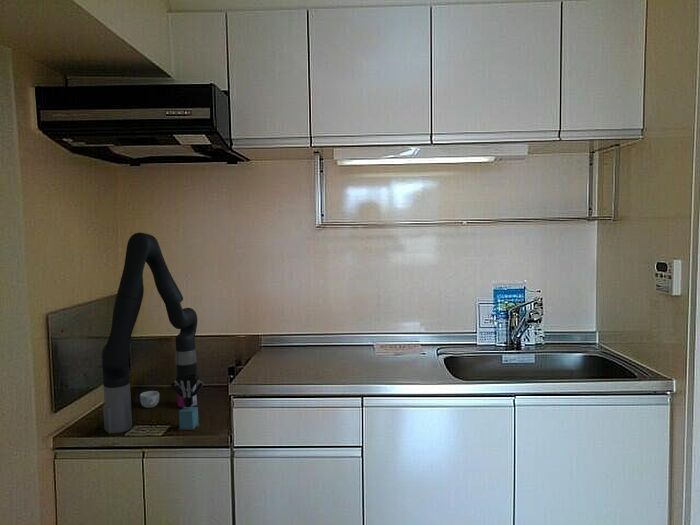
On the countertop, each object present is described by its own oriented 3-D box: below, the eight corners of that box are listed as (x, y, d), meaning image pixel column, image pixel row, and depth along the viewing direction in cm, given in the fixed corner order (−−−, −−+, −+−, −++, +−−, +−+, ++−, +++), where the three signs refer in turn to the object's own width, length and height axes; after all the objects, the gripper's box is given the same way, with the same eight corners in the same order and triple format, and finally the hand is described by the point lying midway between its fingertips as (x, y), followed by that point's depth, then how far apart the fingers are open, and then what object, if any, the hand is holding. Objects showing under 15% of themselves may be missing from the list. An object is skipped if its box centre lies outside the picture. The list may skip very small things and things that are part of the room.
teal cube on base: (192, 428, 216) (192, 411, 215) (179, 428, 217) (178, 411, 216) (198, 423, 221) (197, 407, 221) (185, 423, 222) (184, 406, 221)
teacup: (138, 405, 246) (137, 393, 246) (156, 402, 250) (156, 389, 250) (144, 411, 238) (143, 399, 237) (163, 408, 242) (162, 395, 241)
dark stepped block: (193, 430, 216) (192, 413, 215) (178, 430, 216) (177, 413, 216) (199, 424, 221) (199, 408, 221) (184, 424, 222) (184, 407, 222)
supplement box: (189, 403, 247) (187, 377, 246) (197, 406, 244) (196, 379, 243) (177, 407, 243) (176, 380, 242) (185, 409, 239) (184, 382, 238)
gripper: (206, 359, 220) (209, 403, 221) (173, 359, 221) (176, 403, 223) (199, 364, 212) (201, 410, 214) (165, 364, 214) (167, 409, 216)
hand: (188, 406), depth 218 cm, fingers closed
